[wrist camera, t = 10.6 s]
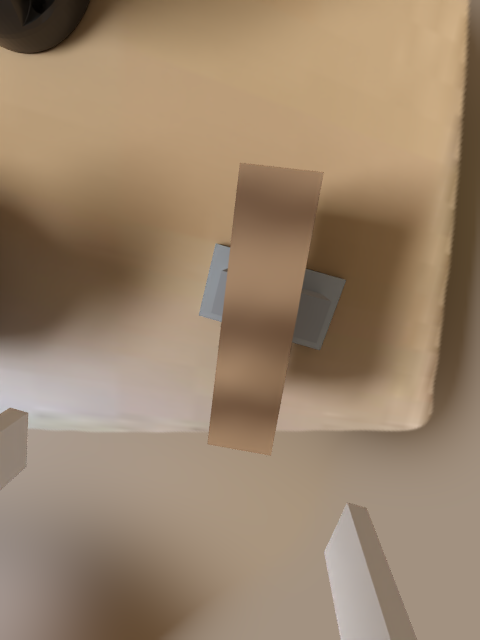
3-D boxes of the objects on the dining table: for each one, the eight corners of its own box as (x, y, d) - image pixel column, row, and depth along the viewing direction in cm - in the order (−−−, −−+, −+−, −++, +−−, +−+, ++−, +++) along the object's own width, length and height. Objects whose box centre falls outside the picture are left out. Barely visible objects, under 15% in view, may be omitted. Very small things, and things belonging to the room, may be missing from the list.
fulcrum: (217, 243, 29) (205, 241, 24) (343, 279, 29) (362, 285, 23) (200, 313, 31) (185, 327, 26) (318, 347, 31) (330, 369, 25)
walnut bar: (247, 186, 22) (240, 162, 16) (308, 193, 22) (323, 172, 16) (220, 403, 27) (207, 444, 21) (270, 411, 27) (270, 455, 21)
